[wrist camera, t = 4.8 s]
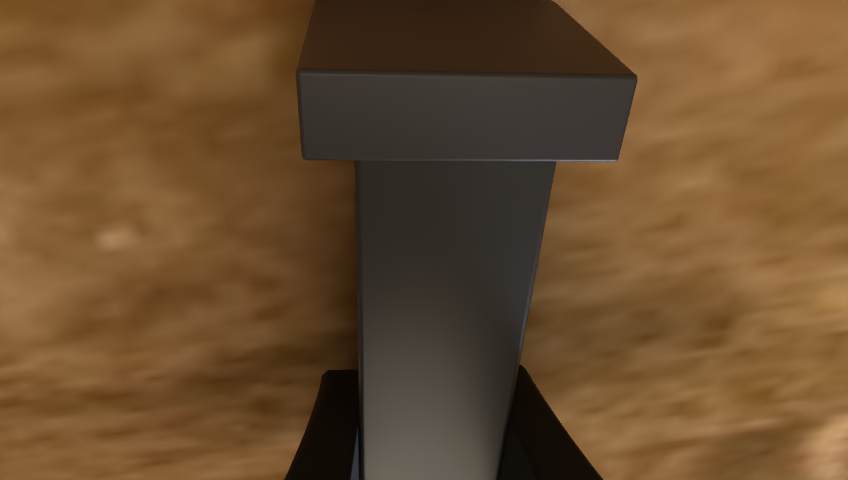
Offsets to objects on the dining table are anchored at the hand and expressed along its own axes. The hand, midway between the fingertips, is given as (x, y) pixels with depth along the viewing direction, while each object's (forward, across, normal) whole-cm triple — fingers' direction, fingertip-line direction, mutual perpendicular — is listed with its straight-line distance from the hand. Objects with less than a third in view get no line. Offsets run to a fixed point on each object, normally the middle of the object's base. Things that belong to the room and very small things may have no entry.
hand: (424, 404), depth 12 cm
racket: (+1, 0, +5) cm, 5 cm away
